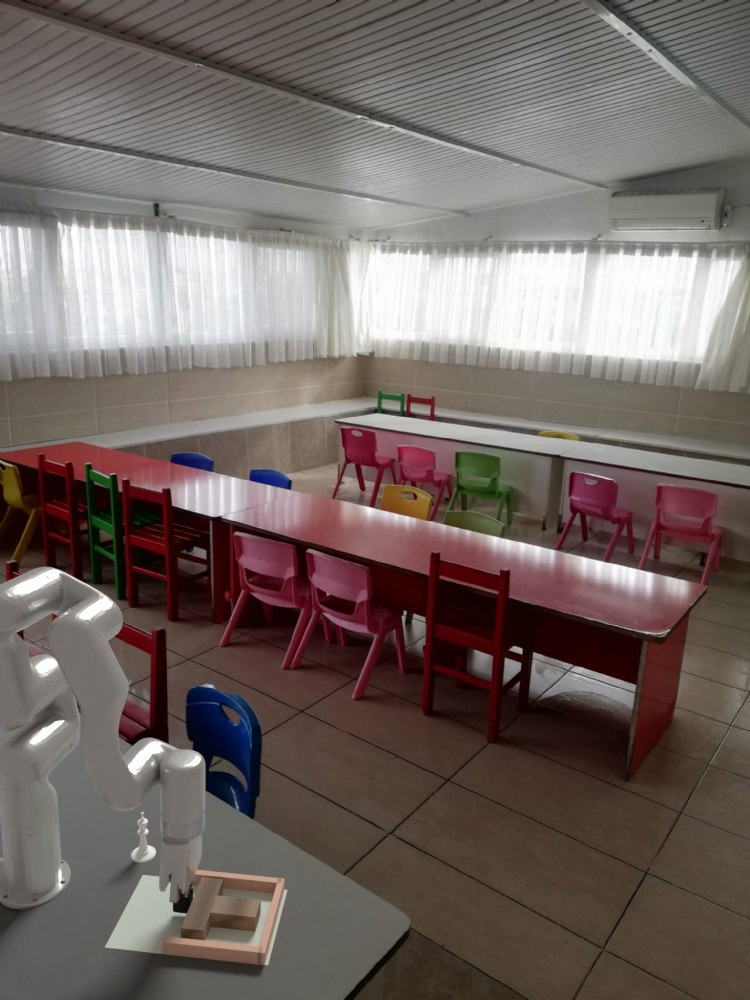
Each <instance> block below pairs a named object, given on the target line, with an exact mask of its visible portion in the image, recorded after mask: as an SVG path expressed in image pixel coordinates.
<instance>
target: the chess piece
mask: <svg viewBox="0 0 750 1000" xmlns="http://www.w3.org/2000/svg"><path fill="white" fill-rule="evenodd" d="M144 814H145V812H144V811H141V812H140V817H141V818H140V819H138V820H137V822H136V823H137V826H138V830H137V833H136V834H137V836H138V837H139V844H138V845H139V846H138V847H136V848H135V849H133V850H132V851H131V853H130V859H131V860H132V861H133V862H135V863H139V864H140V863H141V864H142V863H147V862H149V861H151V860H152V859H153V858H155V856H156V854H157V850H156V848H155V847H153V845H148V842H147V837H146V836H147V835H148V834H149V829H148V828H147V826H148V823H149V820H148V818H146V817H145V815H144Z"/></svg>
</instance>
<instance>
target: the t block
mask: <svg viewBox="0 0 750 1000" xmlns="http://www.w3.org/2000/svg"><path fill="white" fill-rule="evenodd" d="M222 895H223V879H215V878H205V877H202V878H201V881H200V883H199V886H198V888H197V890H196V893H195V895H194V898H193V900H192V902H191V905H190V907H189V910H188V912H187V914H186V917H185V919H184V922H183V924H182V926H181V938H186V939H195V940H205V941H206V938H207V935H208V933H209V930H210V927H217V928H227V929H236V930H245V931H256V928H257V924H258V921H259V917H260V913H261V900H256V899H246V898H237V897H227V896H222Z"/></svg>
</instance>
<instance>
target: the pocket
mask: <svg viewBox="0 0 750 1000" xmlns="http://www.w3.org/2000/svg"><path fill="white" fill-rule="evenodd" d="M202 877H205V878H215V879H223V888H228V889H238V890H247V891H257V892H267V893H274V896H273V899H272V903H271V906H270V910H269V913H268V917H267V921H266V924H265V928H264V931H263V935H262V939H261V942H260V946H251V945H242V944H232V943H223V942H214V941H205V940H195V939H186V938H177V937H168V936H165V937H164V939H163V942H162V951H163V954H162V955H167V954H169V955H170V956H176V955H178V957H185V956H188V957H187V958H194V957H197V958H196V959H204V958H206V960H213V959H215V960H214V961H222V960H224V961H223V962H231V961H233V962H232V963H240V962H242V963H241V964H249V963H251V964H252V965H258V964H261V965H260V966H266V965H265V961H266V958H267V954H268V950H269V946H270V942H271V938H272V935H273V931H274V927H275V923H276V919H277V916H278V912H279V908H280V904H281V900H282V897H283V893H284V889H285V884H286V883H285V881H286V880H285V879H286V878H281V877H271V876H263V875H253V874H252V875H251V874H243V873H233V872H232V873H231V872H225V871H223V872H222V871H213V870H202V869H197V870H196V872H195V875H194V883H193V885H199V883H200V881H201V878H202ZM169 955H168V956H169ZM251 964H250V965H251Z"/></svg>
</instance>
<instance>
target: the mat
mask: <svg viewBox="0 0 750 1000" xmlns="http://www.w3.org/2000/svg"><path fill="white" fill-rule="evenodd" d="M170 886H171V883H169V884H168V886H167V888H166V890H165V892H160V890H159V875H148V874H147V875H146V874H142V876H141V878H140V879H139V881H138V882H137V885H136V887H135V889H134V891H133V893H132V895H131V897H130V899H129V900H128V902H127V904H126V906H125V908H124V910H123V912H122V914H121V915H120V917H119V919H118V921H117V923H116V925H115V926H114V928H113V931H112V932H111V934H110V936H109V939H107V942H106V943H105V946H104V948H106V949H113V950H122V951H123V950H124V951H132V952H143V953H149V954H150V953H151V954H159V955H160V954H161V955H164V954H163V951H162V942H163V939H164V937H165V936H168V937H177V938H181V926H182V924H183V922H184V919H185V917H186V914H185V913H177V912H173V903H171V902H169V898H170ZM198 886H199V885H193V887H192V888H193V898H194V895H195V893H196V890H197V888H198ZM287 893H288V889H285V888H284V893H283V897H282V900H281V904H280V908H279V912H278V916H277V919H276V923H275V927H274V931H273V935H272V938H271V942H270V946H269V950H268V954H267V958H266V961H265V965H264V966H268V967H269V964H270V959H271V955H272V951H273V949H274V944H275V939H276V937H277V932H278V929H279V924H280V921H281V916H282V912H283V910H284V909H283V908H284V905H285V901H286V897H287ZM222 896H227V897H237V898H246V899H256V900H261V913H260V917H259V921H258V924H257V928H256V931H245V930H236V929H227V928H217V927H210V930H209V933H208V935H207V938H206V941H214V942H223V943H232V944H242V945H251V946H260V942H261V939H262V935H263V931H264V928H265V924H266V921H267V917H268V913H269V910H270V906H271V903H272V899H273V896H274V893H267V892H257V891H247V890H238V889H228V888H223V895H222ZM166 955H168V956H169V954H166ZM175 956H178V955H175ZM178 957H179V956H178ZM184 957H187V958H189V957H188V956H184ZM193 958H194V959H195V958H196V959H198V958H197V957H193ZM203 959H206V958H203ZM206 960H207V959H206ZM212 960H214V961H216V960H215V959H212ZM221 961H223V962H225V961H224V960H221ZM230 962H232V963H234V962H233V961H230ZM239 963H241V964H243V963H242V962H239ZM248 964H250V965H251V963H248ZM257 965H260V966H262V965H261V964H257Z"/></svg>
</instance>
